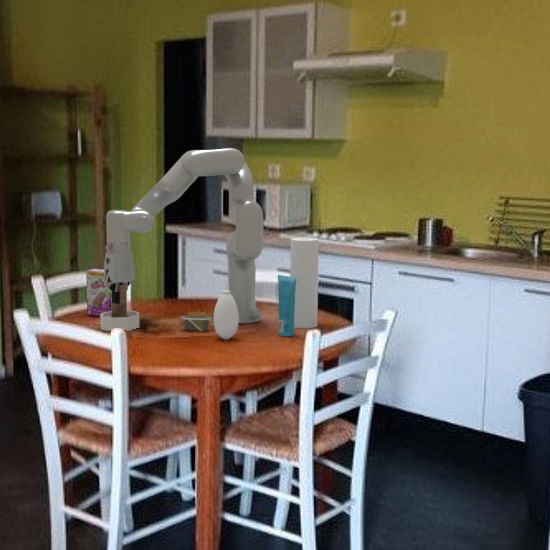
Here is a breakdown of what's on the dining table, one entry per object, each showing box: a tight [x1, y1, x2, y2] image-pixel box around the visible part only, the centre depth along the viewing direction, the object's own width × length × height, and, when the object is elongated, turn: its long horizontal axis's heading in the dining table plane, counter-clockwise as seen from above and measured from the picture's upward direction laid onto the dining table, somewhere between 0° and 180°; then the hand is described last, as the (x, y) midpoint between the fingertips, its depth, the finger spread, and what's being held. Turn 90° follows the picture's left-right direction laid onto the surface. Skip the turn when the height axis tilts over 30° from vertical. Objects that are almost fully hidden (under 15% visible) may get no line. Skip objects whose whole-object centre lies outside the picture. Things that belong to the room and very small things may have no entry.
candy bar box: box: [85, 268, 112, 318], centre depth 288 cm, size 11×5×16 cm, turn 63°
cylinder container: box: [289, 236, 320, 329], centre depth 273 cm, size 9×9×30 cm
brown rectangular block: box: [112, 283, 128, 317], centre depth 269 cm, size 4×2×12 cm, turn 55°
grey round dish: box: [99, 310, 140, 332], centre depth 270 cm, size 13×13×4 cm
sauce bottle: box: [213, 282, 240, 340], centre depth 253 cm, size 8×8×18 cm
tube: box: [277, 274, 297, 337], centre depth 259 cm, size 7×5×19 cm, turn 57°
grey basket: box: [180, 311, 212, 332], centre depth 265 cm, size 12×18×7 cm, turn 85°
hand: (119, 302), depth 269 cm, fingers closed on brown rectangular block, 2 cm apart
